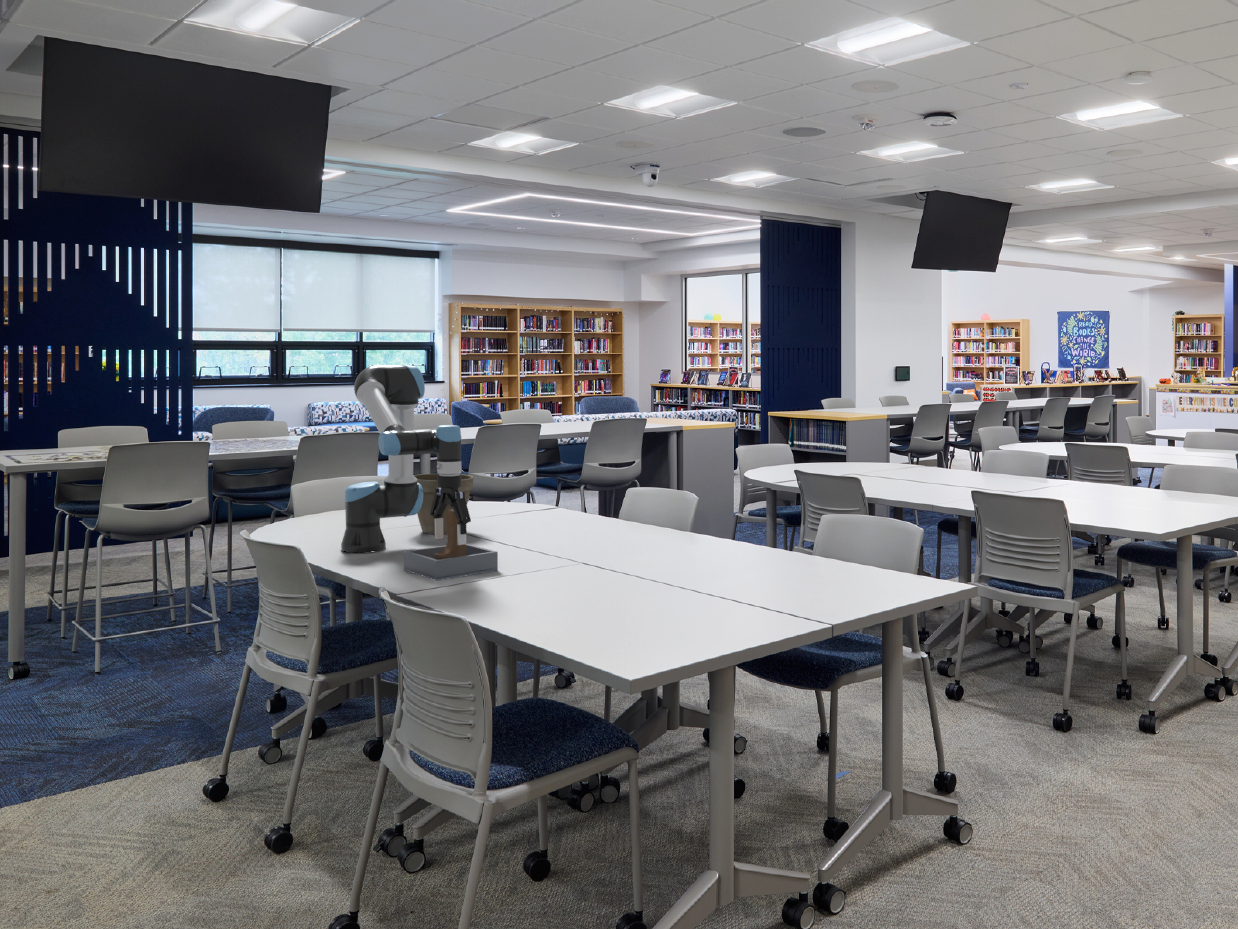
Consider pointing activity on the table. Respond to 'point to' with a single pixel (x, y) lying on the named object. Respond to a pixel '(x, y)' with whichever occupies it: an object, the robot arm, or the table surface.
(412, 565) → the open-top box
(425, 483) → the plant pot
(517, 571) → the table surface
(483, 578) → the table surface
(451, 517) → the wooden block
